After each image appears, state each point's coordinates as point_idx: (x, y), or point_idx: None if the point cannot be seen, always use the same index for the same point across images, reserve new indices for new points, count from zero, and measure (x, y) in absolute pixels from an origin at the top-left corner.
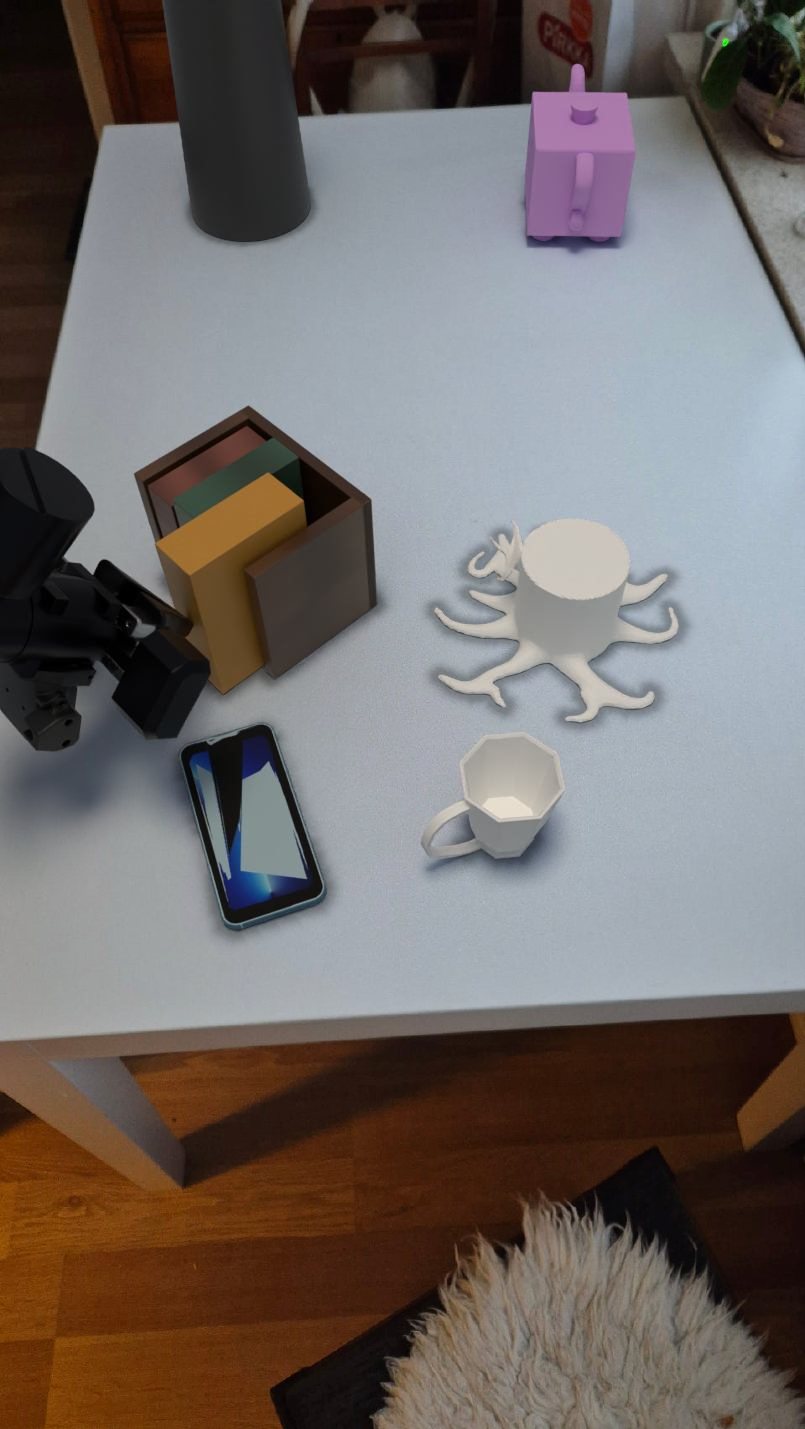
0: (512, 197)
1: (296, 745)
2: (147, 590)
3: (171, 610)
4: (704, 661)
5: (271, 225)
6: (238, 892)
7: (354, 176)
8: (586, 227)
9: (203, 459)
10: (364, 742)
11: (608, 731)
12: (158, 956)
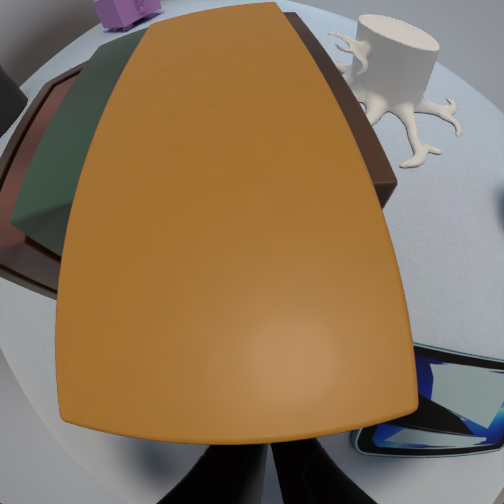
0: (103, 35)
1: (412, 324)
2: (206, 491)
3: (292, 450)
4: (431, 75)
5: (15, 111)
6: (495, 434)
7: (38, 81)
8: (146, 11)
9: (26, 144)
10: (438, 261)
11: (467, 128)
12: (475, 496)
